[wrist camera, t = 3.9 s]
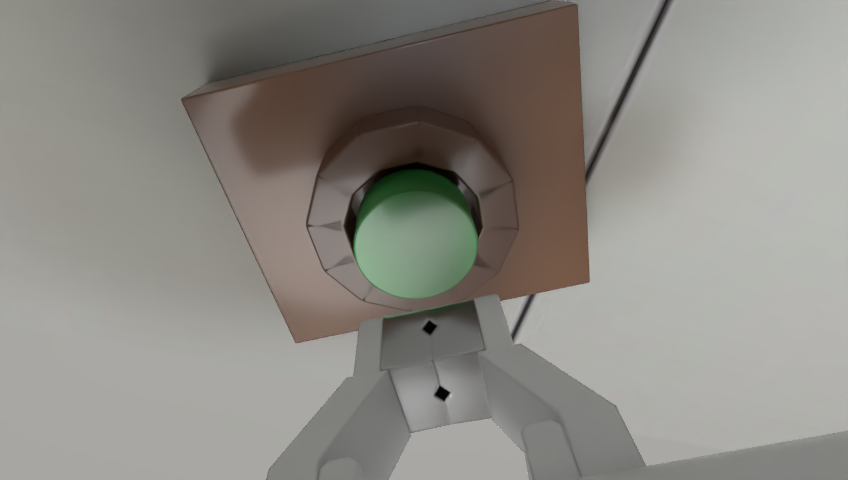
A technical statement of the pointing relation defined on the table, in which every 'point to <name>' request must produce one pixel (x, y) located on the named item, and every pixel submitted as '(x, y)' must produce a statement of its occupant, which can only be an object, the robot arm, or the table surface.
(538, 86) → the switch block
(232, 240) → the table surface
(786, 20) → the table surface
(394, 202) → the lamp button
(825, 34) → the table surface
